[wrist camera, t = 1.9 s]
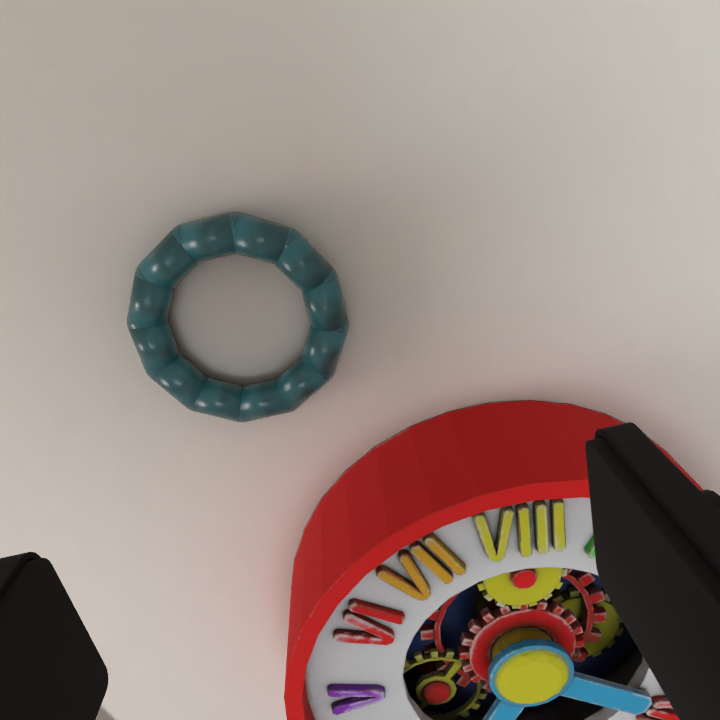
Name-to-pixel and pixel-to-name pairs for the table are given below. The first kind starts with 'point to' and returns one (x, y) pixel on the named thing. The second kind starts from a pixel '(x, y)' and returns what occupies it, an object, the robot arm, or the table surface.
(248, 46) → the table surface
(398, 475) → the toy clock
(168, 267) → the ring
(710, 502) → the robot arm
